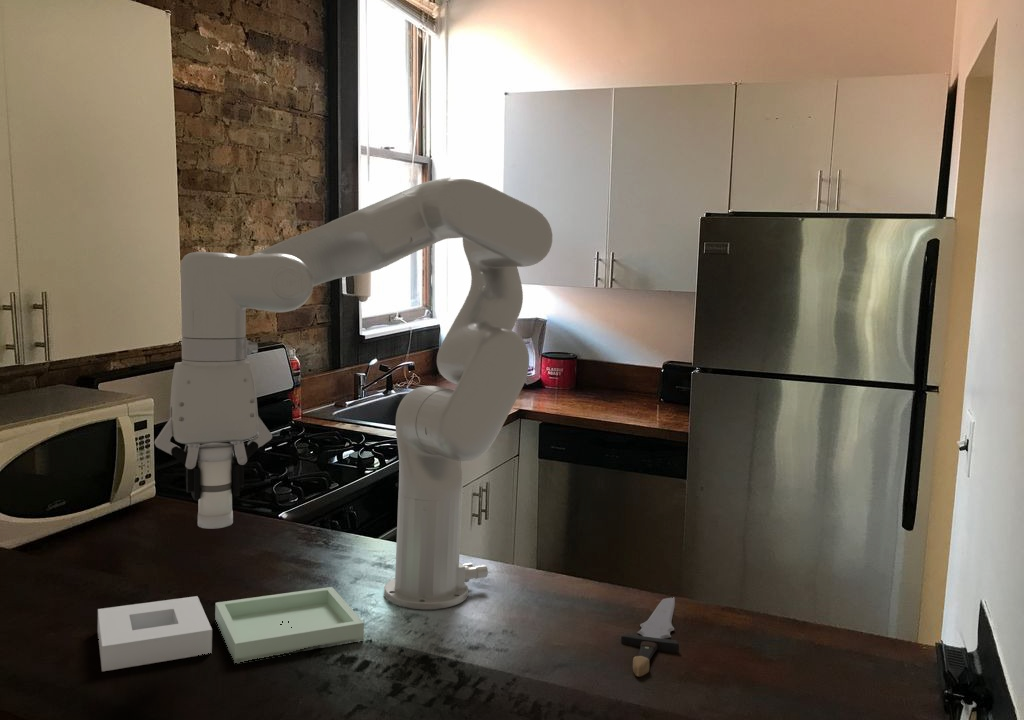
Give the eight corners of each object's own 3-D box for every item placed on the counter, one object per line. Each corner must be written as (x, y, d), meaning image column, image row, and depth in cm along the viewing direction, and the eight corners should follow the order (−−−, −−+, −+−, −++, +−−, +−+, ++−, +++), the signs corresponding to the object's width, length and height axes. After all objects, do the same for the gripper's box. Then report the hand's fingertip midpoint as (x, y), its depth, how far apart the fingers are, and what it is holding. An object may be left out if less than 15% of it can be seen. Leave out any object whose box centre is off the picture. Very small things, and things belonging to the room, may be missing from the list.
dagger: (616, 679, 97) (617, 662, 97) (628, 589, 129) (628, 576, 129) (679, 687, 96) (680, 670, 96) (675, 594, 127) (676, 582, 127)
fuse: (229, 517, 105) (229, 442, 104) (235, 526, 101) (235, 448, 100) (195, 521, 103) (194, 444, 102) (200, 530, 99) (199, 450, 98)
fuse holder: (197, 617, 108) (197, 596, 108) (211, 653, 98) (212, 629, 98) (97, 631, 103) (97, 609, 102) (101, 671, 92) (102, 646, 92)
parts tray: (331, 603, 116) (332, 586, 115) (363, 641, 103) (364, 622, 103) (215, 620, 108) (215, 602, 108) (234, 663, 96) (235, 643, 95)
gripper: (275, 348, 107) (276, 482, 109) (138, 350, 99) (140, 495, 101) (289, 353, 101) (289, 495, 102) (142, 355, 92) (145, 510, 94)
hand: (215, 494), depth 101 cm, fingers closed on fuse, 4 cm apart
